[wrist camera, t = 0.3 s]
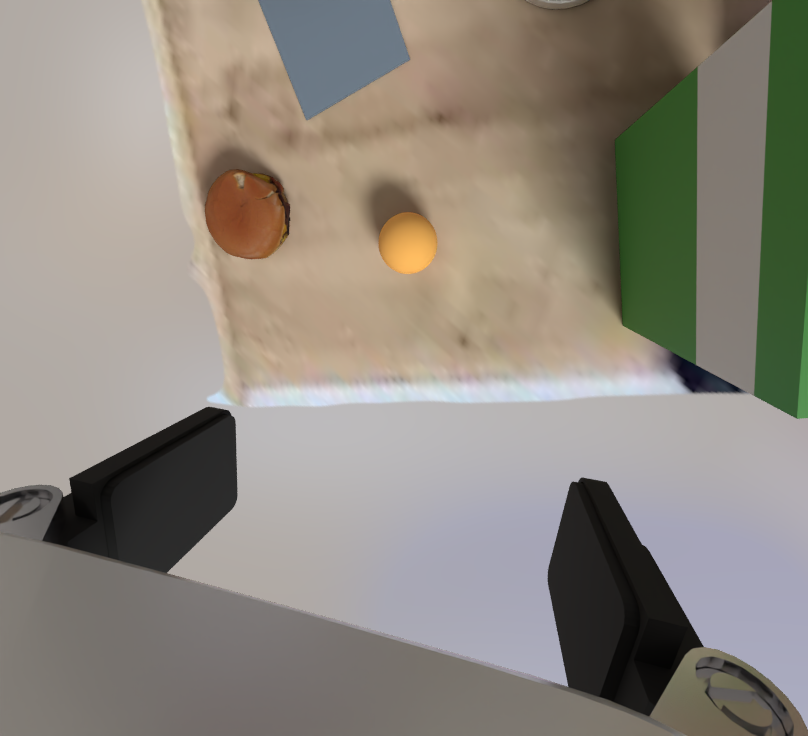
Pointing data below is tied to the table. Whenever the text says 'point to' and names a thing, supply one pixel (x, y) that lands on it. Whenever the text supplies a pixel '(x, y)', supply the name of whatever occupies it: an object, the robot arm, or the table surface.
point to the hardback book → (725, 212)
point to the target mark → (334, 46)
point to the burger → (247, 214)
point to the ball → (407, 243)
